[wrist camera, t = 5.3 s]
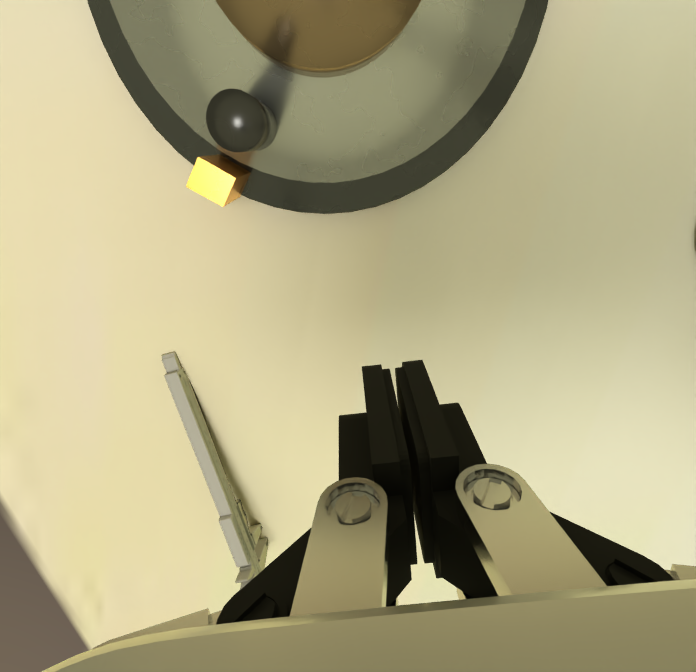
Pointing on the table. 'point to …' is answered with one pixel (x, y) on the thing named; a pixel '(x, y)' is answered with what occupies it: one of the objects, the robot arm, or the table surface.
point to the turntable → (320, 75)
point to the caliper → (216, 477)
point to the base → (239, 179)
